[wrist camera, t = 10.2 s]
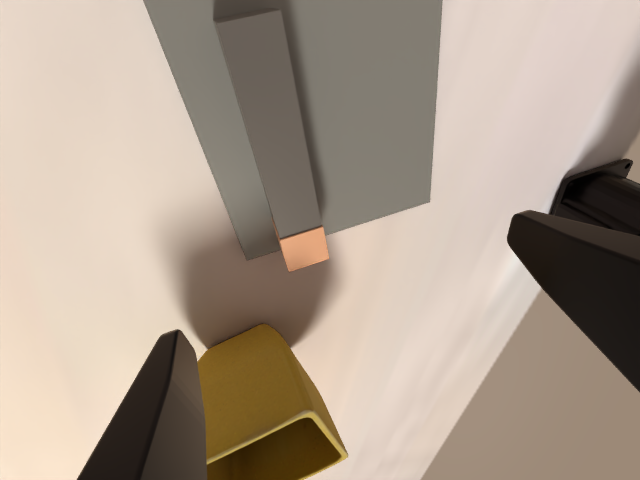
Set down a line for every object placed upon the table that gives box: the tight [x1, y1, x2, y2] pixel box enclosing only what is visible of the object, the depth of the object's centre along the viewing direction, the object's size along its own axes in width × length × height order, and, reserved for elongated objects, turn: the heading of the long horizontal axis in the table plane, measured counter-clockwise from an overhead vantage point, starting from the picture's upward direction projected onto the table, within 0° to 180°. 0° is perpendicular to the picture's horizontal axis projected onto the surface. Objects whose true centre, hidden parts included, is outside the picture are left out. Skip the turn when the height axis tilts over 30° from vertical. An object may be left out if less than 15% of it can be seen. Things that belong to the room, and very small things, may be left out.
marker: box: [213, 8, 329, 272], centre depth 17 cm, size 2×12×2 cm, turn 9°
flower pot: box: [197, 324, 348, 480], centre depth 24 cm, size 9×9×9 cm
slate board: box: [143, 0, 442, 260], centre depth 18 cm, size 13×15×1 cm
